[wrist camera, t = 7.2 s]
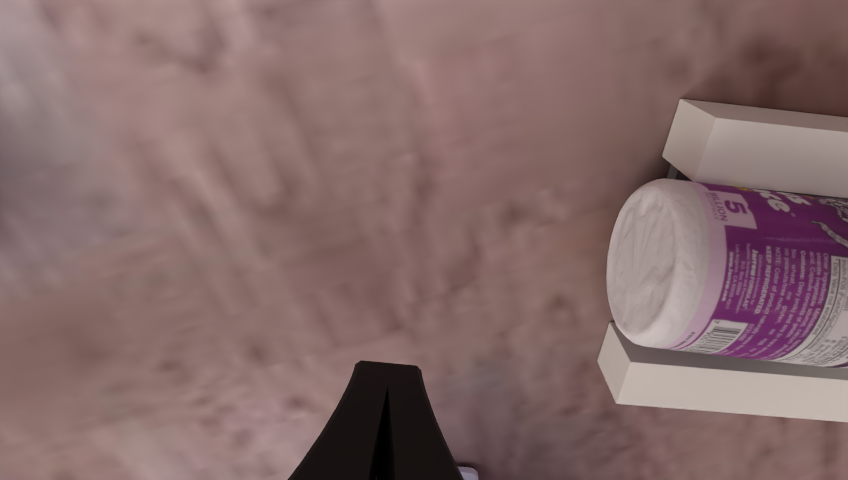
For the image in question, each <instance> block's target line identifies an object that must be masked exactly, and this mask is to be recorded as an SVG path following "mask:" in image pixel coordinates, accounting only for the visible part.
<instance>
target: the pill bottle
mask: <svg viewBox="0 0 848 480" xmlns="http://www.w3.org/2000/svg"><path fill="white" fill-rule="evenodd" d="M606 283H607V295H608V301H609V305H610V308H611V312H612V315H613V318H614V320H615V323H616V325H617V327H618V328H619V330H620V331H621V332H622V333H623V334H624V335H625V337H626V338H628V339H629V340H630V341H631V342H633V343H634V344H637V345H641V346H645V347H653V348H661V349H669V350H674V351H686V352H695V353H702V354H712V355H720V356H729V357H738V358H746V359H756V360H763V361H774V362H784V363H792V364H802V365H812V366H821V367H826V368H848V200H841V199H832V198H823V197H817V196H808V195H799V194H792V193H783V192H776V191H767V190H758V189H752V188H743V187H733V186H726V185H717V184H708V183H702V182H693V181H684V180H675V179H656V180H654V181H651V182H648V183H646V184H644V185H643V186H641V187H640V188H638V189H637V190H636V191H635V192H634V193H632V194H631V196H630V197H629V198H628V199H627V201H626V202H625V204H624V206H623V207H622V209H621V210H620V212H619V215H618V218H617V220H616V223H615V226H614V229H613V233H612V236H611V241H610V246H609V252H608V258H607V276H606Z"/></svg>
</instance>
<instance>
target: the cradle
mask: <svg viewBox="0 0 848 480" xmlns="http://www.w3.org/2000/svg"><path fill="white" fill-rule="evenodd" d="M662 157H663V158H665V159H666V160H667V161H668V162H669V163H671V165H670V168H669V172H668V175H667V178H666V179H675V180H684V181H693V182H702V183H708V184H717V185H726V186H733V187H743V188H752V189H758V190H767V191H776V192H783V193H792V194H799V195H808V196H817V197H823V198H832V199H841V200H848V117H839V116H830V115H821V114H812V113H803V112H794V111H786V110H777V109H768V108H759V107H750V106H741V105H732V104H723V103H714V102H706V101H697V100H688V99H680V101H679V104H678V107H677V110H676V113H675V116H674V120H673V123H672V126H671V129H670V132H669V135H668V139H667V142H666V145H665V148H664V151H663V154H662ZM597 362H598V364H599V366H600V369H601V371H602V373H603V375H604V378H605V380H606V382H607V384H608V387H609V389H610V391H611V393H612V396H613V398H614V400H615V402H616V404H626V405H639V406H651V407H664V408H676V409H689V410H701V411H714V412H726V413H739V414H751V415H764V416H777V417H789V418H802V419H814V420H827V421H839V422H848V368H826V367H821V366H812V365H802V364H792V363H784V362H774V361H763V360H756V359H746V358H738V357H729V356H720V355H712V354H702V353H695V352H686V351H674V350H669V349H661V348H653V347H645V346H641V345H637V344H634V343H633V342H631V341H630V340H629V339H628V338H626V337H625V335H624V334H623V333H622V332H621V331H620V330H619V328H618V327H617V325H616V323H615V322H609V325H608V329H607V332H606V335H605V338H604V341H603V344H602V347H601V351H600V354H599V357H598V360H597Z"/></svg>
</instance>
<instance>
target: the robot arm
mask: <svg viewBox="0 0 848 480" xmlns="http://www.w3.org/2000/svg"><path fill="white" fill-rule="evenodd" d="M288 480H478V472H477V471H476V470H475V469H473V468H470V467H457V465H456V463H455V461H454V459H453V457H452V455H451V453H450V450H449V448H448V446H447V444H446V442H445V439H444V437H443V435H442V432H441V430H440V428H439V425H438V423H437V421H436V418H435V416H434V413H433V410H432V407H431V405H430V402H429V399H428V396H427V393H426V389H425V386H424V382H423V378H422V373H421V370H420V369H419V368H418V367H417V366H414V365H403V364H393V363H382V362H371V361H360V362H358V363H357V364H355V368H354V371H353V374H352V377H351V379H350V381H349V384H348V386H347V388H346V390H345V392H344V394H343V396H342V398H341V400H340V402H339V404H338V406H337V407H336V409H335V411H334V412H333V414H332V416H331V417H330V419H329V421H328V423H327V424H326V426H325V428H324V429H323V431H322V432H321V434H320V435H319V437H318V438H317V440H316V441H315V443H314V444H313V446H312V447H311V449H310V450H309V451H308V453H307V454H306V456H305V457H304V459H303V460H302V462H301V463H300V464H299V466H298V467H297V468H296V470H295V471H294V472H293V474H292V475H291V476H290V477H289V479H288Z"/></svg>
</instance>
